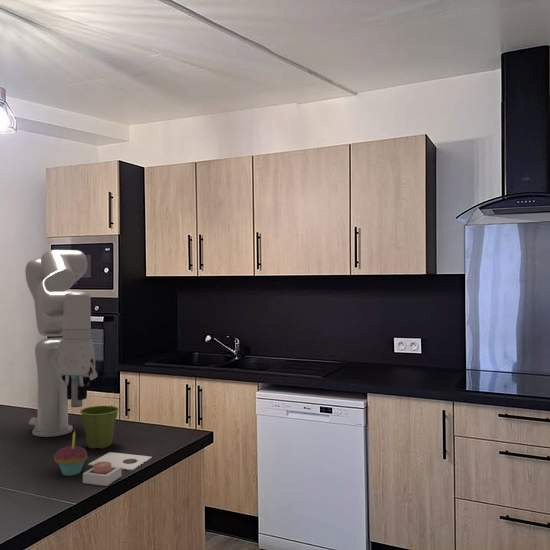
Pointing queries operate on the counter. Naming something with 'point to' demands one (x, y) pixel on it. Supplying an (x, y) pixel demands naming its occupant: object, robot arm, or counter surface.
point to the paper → (122, 460)
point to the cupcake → (71, 458)
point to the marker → (75, 392)
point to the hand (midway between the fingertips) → (76, 398)
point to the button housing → (102, 476)
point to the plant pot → (99, 425)
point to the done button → (102, 468)
